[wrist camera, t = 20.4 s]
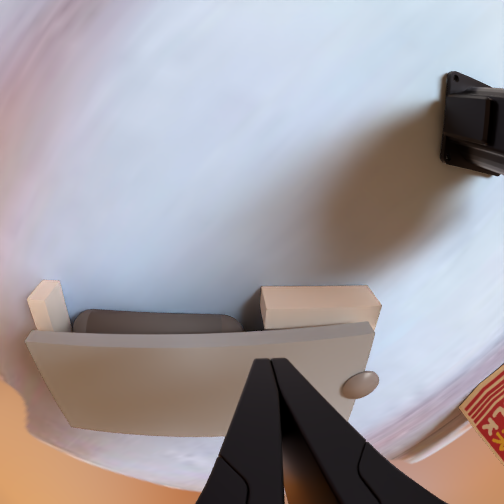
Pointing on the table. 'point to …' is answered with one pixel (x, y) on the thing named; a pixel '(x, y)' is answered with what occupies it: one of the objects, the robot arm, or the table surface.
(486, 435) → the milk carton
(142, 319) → the grey capsule bar
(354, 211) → the table surface
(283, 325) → the long open tray
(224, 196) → the table surface
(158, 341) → the cover
